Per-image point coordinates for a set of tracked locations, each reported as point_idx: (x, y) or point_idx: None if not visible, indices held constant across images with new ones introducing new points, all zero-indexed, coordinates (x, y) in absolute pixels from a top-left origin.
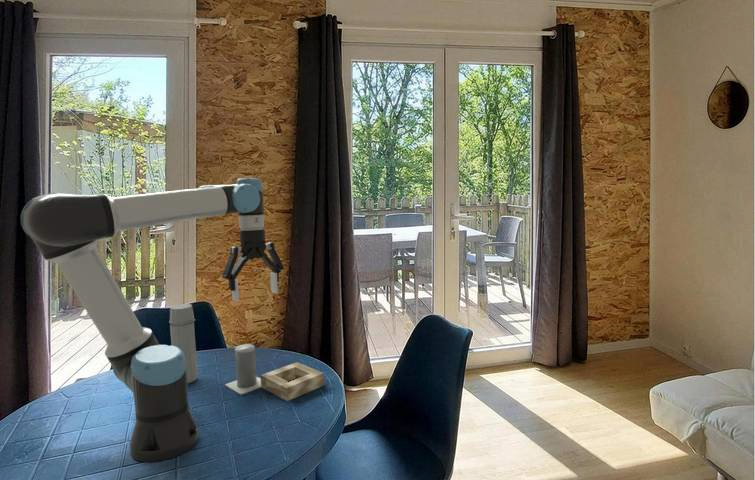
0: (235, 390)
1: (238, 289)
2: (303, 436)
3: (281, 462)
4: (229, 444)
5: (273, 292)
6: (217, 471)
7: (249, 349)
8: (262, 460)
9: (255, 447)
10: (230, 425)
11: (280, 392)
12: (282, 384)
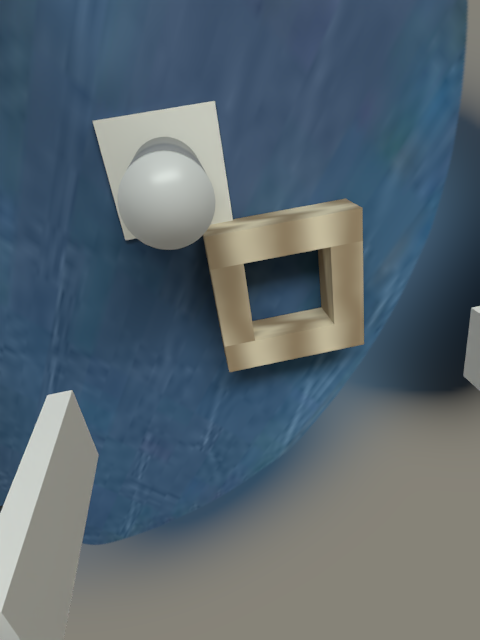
0: (115, 203)
1: (79, 555)
2: (184, 489)
3: (117, 532)
4: None
5: (468, 346)
6: None
7: (177, 245)
8: (89, 517)
9: None
10: (57, 385)
11: (221, 333)
12: (231, 345)
